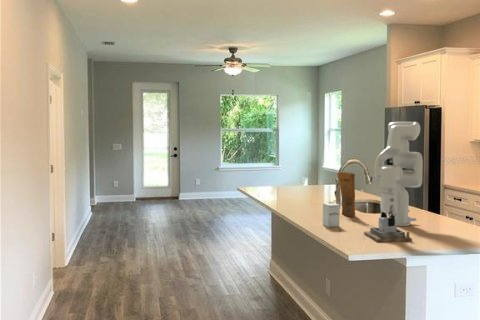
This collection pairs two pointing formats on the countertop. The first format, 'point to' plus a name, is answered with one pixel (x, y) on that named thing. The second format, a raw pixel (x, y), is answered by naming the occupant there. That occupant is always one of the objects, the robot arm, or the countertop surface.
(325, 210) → the supplement box
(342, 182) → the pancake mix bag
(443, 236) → the countertop surface
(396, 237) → the carrier board
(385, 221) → the medicine box
